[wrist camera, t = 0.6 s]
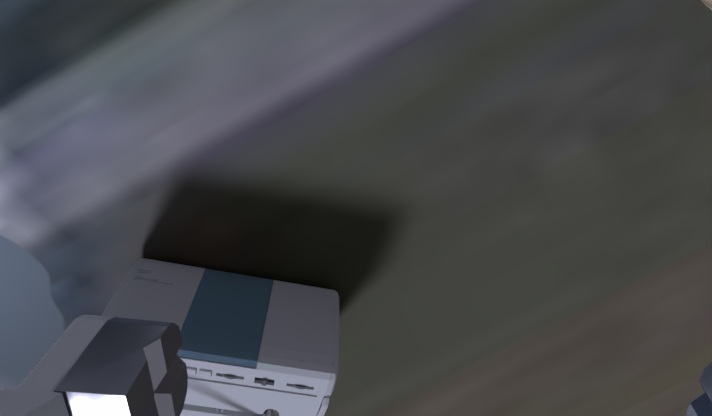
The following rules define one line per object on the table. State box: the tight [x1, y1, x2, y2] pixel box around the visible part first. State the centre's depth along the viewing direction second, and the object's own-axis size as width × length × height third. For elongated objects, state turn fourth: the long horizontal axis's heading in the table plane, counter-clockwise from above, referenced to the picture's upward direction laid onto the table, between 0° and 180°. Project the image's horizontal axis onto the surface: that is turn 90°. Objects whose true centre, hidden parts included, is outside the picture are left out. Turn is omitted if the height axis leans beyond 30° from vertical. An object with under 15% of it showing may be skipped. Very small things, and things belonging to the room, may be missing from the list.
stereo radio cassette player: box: [101, 258, 339, 416], centre depth 50 cm, size 21×8×20 cm, turn 78°
